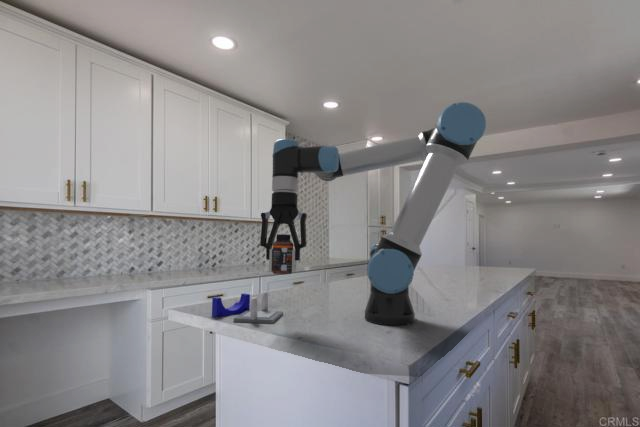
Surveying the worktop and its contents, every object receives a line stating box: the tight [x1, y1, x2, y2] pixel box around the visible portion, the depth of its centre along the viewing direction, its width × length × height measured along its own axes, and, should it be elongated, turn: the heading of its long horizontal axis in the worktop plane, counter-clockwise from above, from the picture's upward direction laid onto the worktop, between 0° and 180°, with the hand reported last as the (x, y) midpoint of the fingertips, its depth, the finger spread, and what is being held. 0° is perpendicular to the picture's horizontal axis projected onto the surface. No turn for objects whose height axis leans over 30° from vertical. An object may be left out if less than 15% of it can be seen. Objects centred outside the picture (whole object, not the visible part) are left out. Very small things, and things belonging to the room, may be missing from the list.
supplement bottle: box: [272, 233, 294, 275], centre depth 100 cm, size 6×6×11 cm
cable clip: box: [211, 292, 251, 318], centre depth 113 cm, size 12×4×6 cm, turn 134°
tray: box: [233, 291, 284, 324], centre depth 107 cm, size 12×13×7 cm
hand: (282, 271), depth 100 cm, fingers closed on supplement bottle, 6 cm apart
